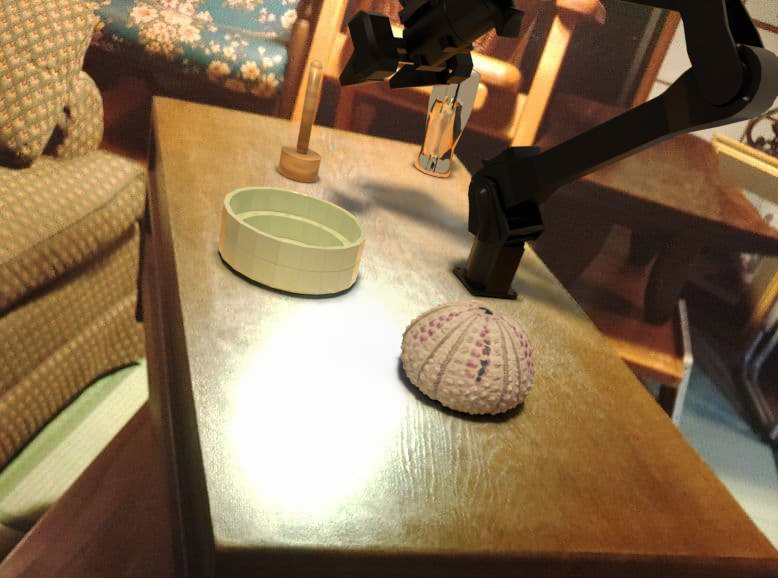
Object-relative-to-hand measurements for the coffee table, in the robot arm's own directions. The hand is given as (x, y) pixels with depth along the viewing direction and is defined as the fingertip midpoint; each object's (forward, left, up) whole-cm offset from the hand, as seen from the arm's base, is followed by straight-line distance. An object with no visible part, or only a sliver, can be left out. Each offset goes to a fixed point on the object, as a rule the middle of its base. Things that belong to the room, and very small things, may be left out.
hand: (366, 83), depth 93 cm
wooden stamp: (+7, +5, -14) cm, 16 cm away
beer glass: (+19, -22, -14) cm, 32 cm away
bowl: (-23, +14, -14) cm, 30 cm away
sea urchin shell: (-46, +2, -14) cm, 49 cm away
